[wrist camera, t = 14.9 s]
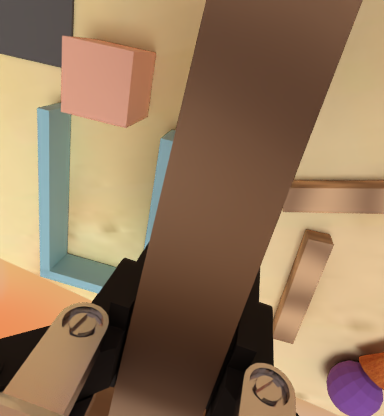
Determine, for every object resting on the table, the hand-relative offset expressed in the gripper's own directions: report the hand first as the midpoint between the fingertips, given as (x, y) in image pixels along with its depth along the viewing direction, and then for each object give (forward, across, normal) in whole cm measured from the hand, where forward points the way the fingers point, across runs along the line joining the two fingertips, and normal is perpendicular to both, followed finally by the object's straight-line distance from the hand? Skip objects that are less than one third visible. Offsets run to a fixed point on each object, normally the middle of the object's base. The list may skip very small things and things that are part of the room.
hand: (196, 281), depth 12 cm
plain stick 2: (+23, -11, +14) cm, 29 cm away
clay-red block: (+23, +13, -2) cm, 26 cm away
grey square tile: (+23, +23, -6) cm, 33 cm away
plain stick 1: (+23, -12, +2) cm, 26 cm away
